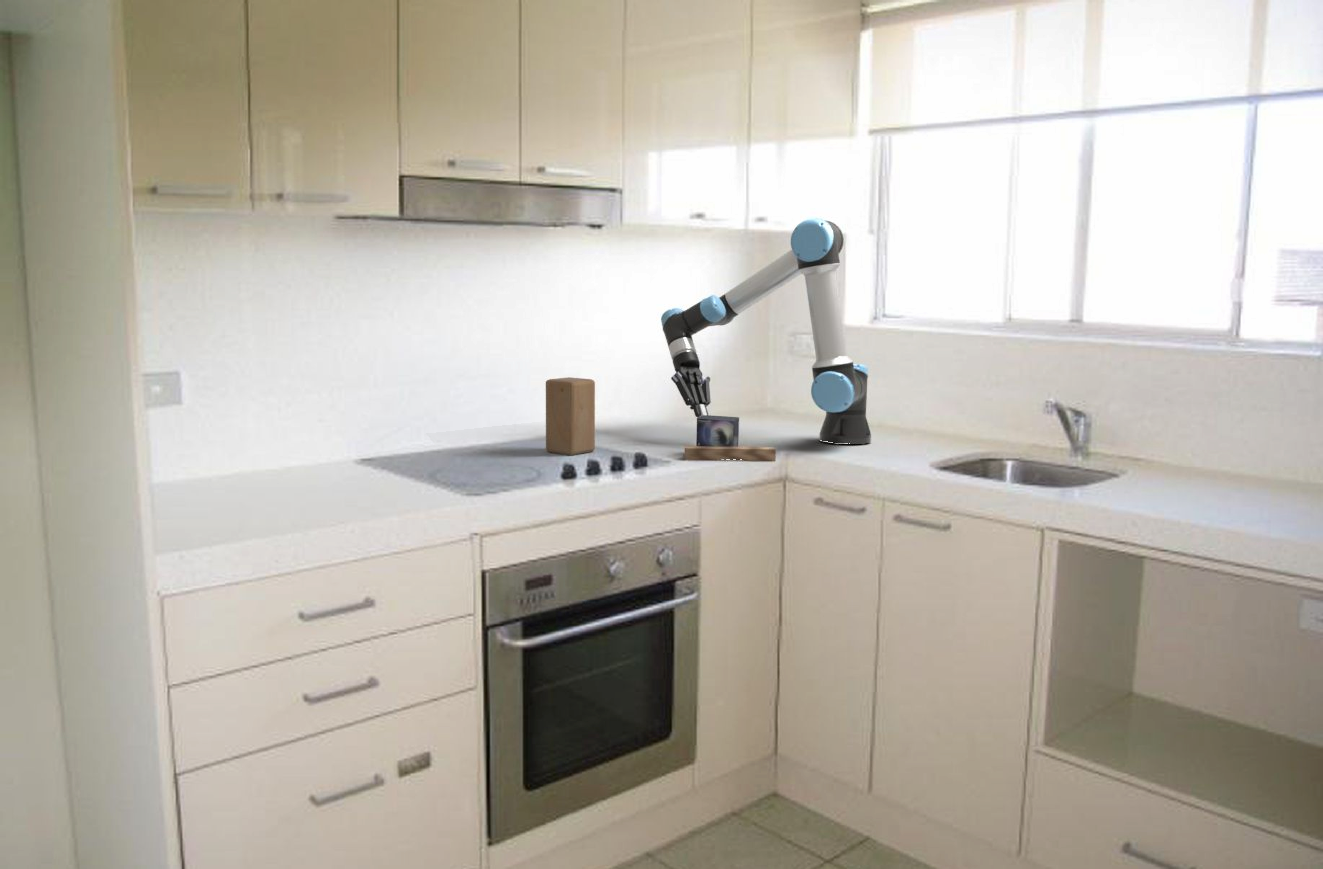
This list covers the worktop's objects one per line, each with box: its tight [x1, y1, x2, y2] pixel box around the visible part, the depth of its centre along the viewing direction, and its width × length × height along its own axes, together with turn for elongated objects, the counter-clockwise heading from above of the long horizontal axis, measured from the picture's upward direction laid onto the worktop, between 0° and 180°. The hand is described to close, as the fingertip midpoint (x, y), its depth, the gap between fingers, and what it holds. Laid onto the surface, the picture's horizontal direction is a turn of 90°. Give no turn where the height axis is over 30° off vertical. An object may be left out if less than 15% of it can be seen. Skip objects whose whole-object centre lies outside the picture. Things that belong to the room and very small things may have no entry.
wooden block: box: [545, 377, 596, 456], centre depth 301 cm, size 10×10×20 cm
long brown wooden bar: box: [683, 445, 777, 462], centre depth 293 cm, size 24×4×4 cm, turn 89°
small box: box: [695, 414, 740, 447], centre depth 299 cm, size 11×6×10 cm, turn 71°
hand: (705, 426), depth 313 cm, fingers closed
